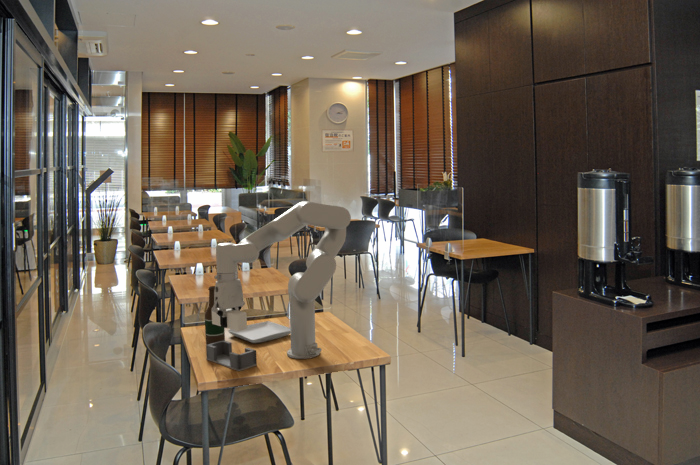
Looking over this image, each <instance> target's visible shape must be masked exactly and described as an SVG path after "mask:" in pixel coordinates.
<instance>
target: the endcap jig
mask: <svg viewBox="0 0 700 465" xmlns="http://www.w3.org/2000/svg"><path fill="white" fill-rule="evenodd" d="M232 344H233V343H232V342H231V341H228V340H226V339H225V340H222V341H219V342H215V343H212V344H208V345H206V344H205V353H206V360H207V361H210V362H212V363H215V364H219V365H221V366H223V367H226V368H229V369H232V370H234V371H237V372H240V371H244V370H247V369H250V368H253V367H256V366H257V364H258V363H257V362H258V361H257V350H256V349H253V348H250V347H246V348H244V352H242V353H240V354H239V353H236V352H233V348H232V347H233V345H232Z"/></svg>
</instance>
